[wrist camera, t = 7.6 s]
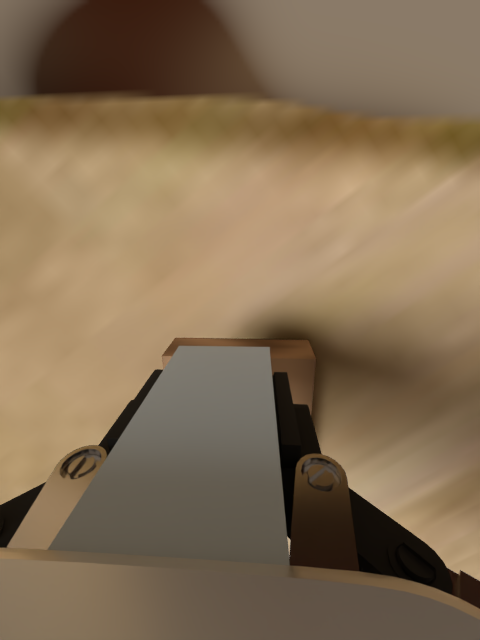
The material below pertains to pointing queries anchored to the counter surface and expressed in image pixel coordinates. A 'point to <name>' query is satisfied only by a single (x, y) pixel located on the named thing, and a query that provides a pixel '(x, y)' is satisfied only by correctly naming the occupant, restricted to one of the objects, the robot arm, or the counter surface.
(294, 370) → the brown box
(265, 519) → the block
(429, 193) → the counter surface
